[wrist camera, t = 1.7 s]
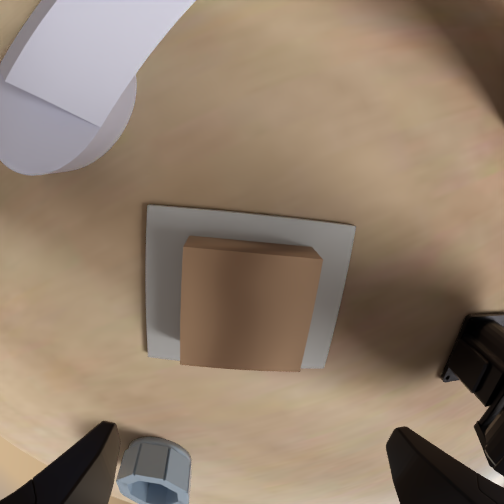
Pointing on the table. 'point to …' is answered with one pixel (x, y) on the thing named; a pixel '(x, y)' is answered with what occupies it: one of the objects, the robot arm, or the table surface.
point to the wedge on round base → (75, 79)
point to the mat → (249, 229)
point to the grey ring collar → (155, 472)
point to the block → (246, 303)
